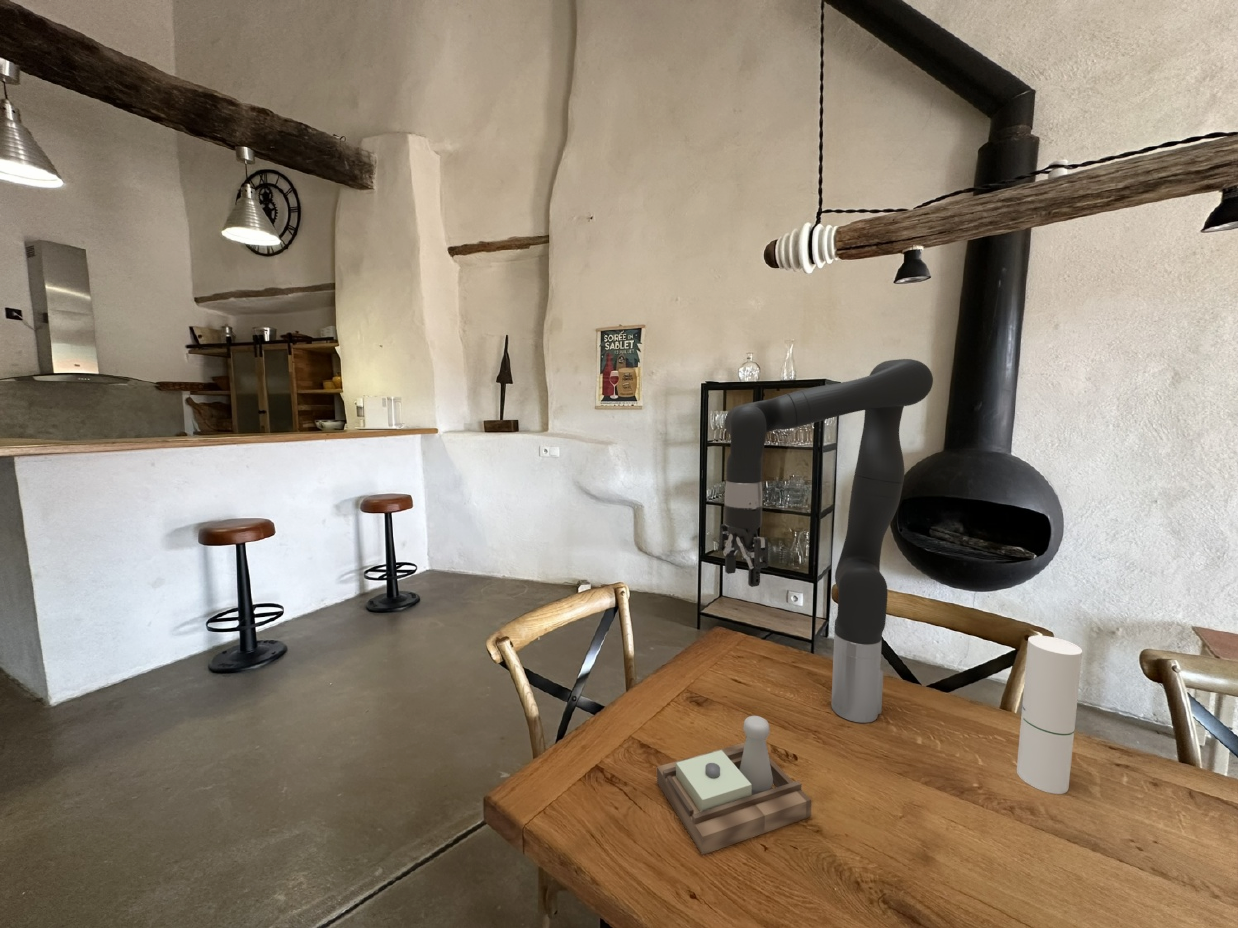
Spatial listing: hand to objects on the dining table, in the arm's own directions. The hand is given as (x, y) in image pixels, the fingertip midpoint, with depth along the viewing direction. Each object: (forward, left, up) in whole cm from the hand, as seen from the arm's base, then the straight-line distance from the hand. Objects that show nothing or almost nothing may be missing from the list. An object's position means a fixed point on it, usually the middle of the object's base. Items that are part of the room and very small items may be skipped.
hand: (741, 579), depth 108 cm
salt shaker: (+10, +20, -30) cm, 38 cm away
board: (+15, +20, -30) cm, 39 cm away
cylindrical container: (-39, +36, -30) cm, 61 cm away
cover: (+19, +20, -27) cm, 38 cm away
